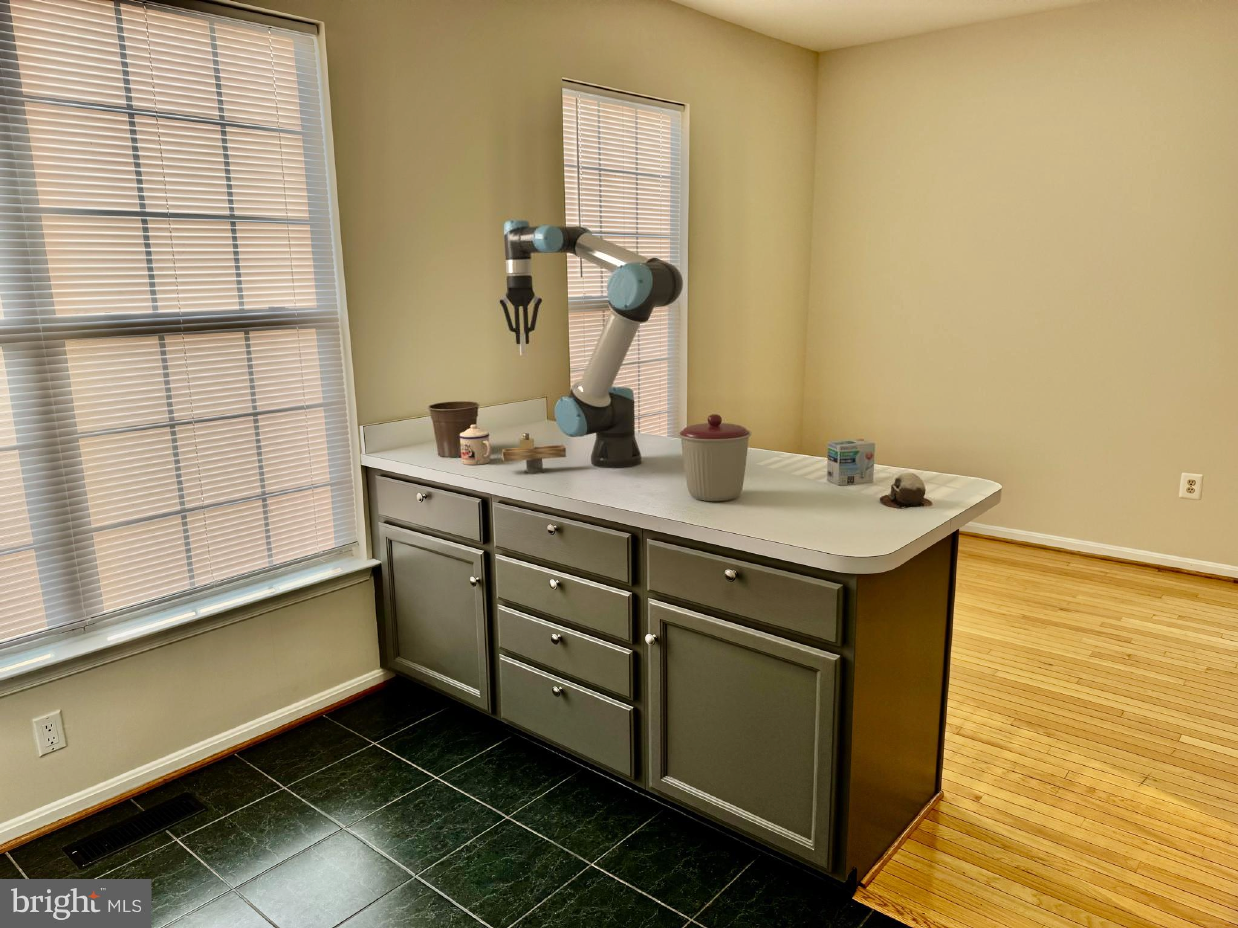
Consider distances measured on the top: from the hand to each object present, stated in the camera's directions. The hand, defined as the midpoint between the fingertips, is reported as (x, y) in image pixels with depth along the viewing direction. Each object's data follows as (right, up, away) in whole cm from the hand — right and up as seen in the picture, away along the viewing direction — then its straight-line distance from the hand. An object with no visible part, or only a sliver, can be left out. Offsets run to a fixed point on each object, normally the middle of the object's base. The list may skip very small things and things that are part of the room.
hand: (523, 355), depth 265 cm
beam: (+4, -35, -7) cm, 36 cm away
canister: (+53, -41, -42) cm, 79 cm away
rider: (+2, -29, -9) cm, 31 cm away
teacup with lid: (-14, -33, +6) cm, 36 cm away
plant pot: (-23, -30, +20) cm, 43 cm away
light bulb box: (+90, -38, -30) cm, 102 cm away
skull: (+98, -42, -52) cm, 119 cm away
